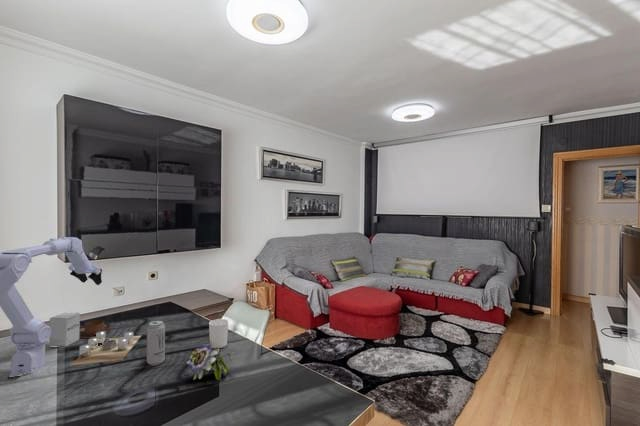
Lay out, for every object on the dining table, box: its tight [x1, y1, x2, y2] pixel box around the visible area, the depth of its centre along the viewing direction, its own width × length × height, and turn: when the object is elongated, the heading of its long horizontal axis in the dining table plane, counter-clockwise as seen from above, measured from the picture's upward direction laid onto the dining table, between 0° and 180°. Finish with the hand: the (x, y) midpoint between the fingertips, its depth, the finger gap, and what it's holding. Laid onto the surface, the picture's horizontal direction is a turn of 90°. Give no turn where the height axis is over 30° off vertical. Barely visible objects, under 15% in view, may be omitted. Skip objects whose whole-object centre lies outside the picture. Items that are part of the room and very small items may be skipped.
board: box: [69, 335, 142, 366], centre depth 125 cm, size 24×17×1 cm
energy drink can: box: [146, 320, 166, 367], centre depth 115 cm, size 6×6×15 cm
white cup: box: [208, 318, 229, 349], centre depth 130 cm, size 8×8×10 cm
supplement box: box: [48, 312, 81, 347], centre depth 131 cm, size 7×7×13 cm
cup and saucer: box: [79, 319, 111, 339], centre depth 141 cm, size 12×12×6 cm
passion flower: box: [186, 341, 233, 382], centre depth 107 cm, size 13×12×14 cm
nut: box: [102, 340, 116, 351], centre depth 126 cm, size 5×4×2 cm
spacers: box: [79, 331, 134, 358], centre depth 127 cm, size 17×15×4 cm
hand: (92, 282), depth 139 cm, fingers open, 7 cm apart
